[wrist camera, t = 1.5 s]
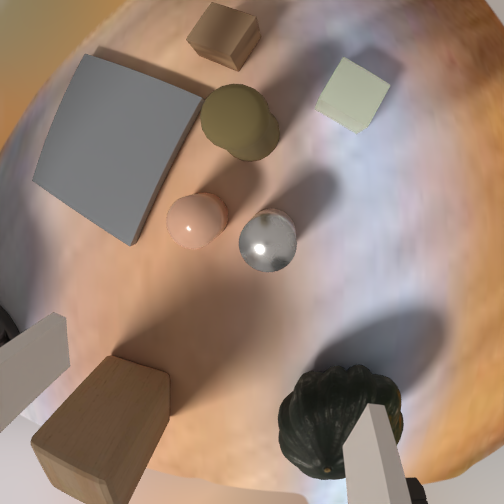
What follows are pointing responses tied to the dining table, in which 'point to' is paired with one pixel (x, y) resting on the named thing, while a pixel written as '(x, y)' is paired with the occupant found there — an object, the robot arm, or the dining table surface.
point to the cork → (240, 122)
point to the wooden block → (105, 432)
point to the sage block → (352, 96)
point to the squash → (332, 416)
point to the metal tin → (268, 240)
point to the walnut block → (225, 36)
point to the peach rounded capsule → (196, 220)
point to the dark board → (114, 144)
